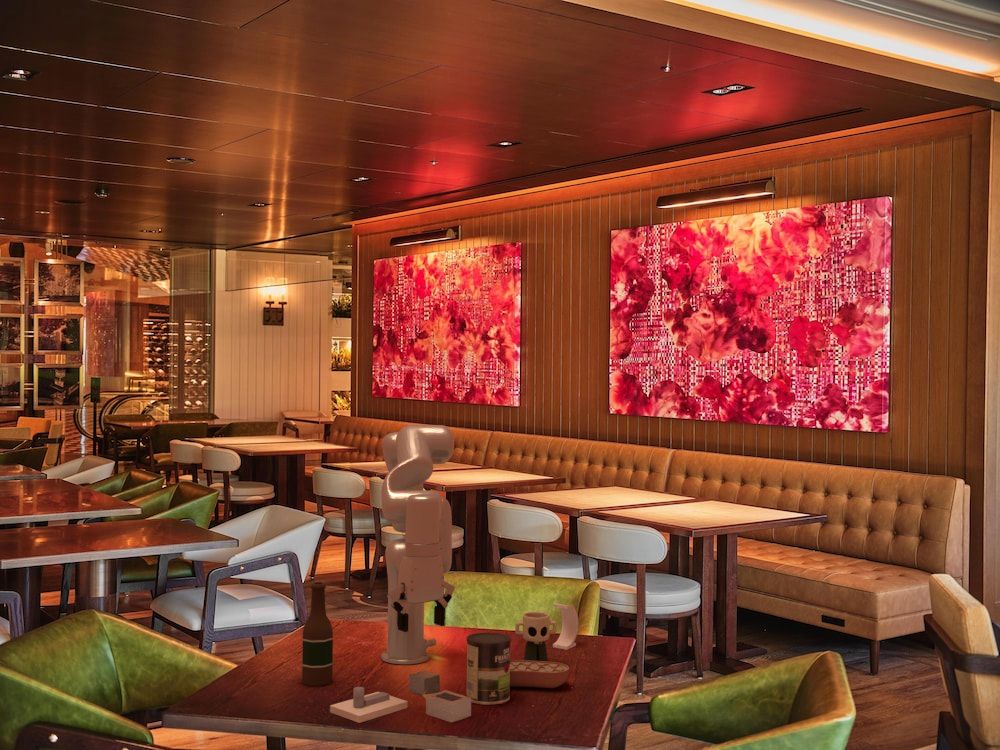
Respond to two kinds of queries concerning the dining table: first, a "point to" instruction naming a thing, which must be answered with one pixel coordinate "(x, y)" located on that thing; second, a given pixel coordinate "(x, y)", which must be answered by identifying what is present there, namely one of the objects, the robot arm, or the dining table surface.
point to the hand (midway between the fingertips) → (421, 627)
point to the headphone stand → (567, 627)
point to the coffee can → (488, 668)
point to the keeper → (367, 705)
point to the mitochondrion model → (537, 674)
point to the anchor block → (424, 682)
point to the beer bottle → (317, 641)
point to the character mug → (536, 634)
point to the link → (448, 706)
